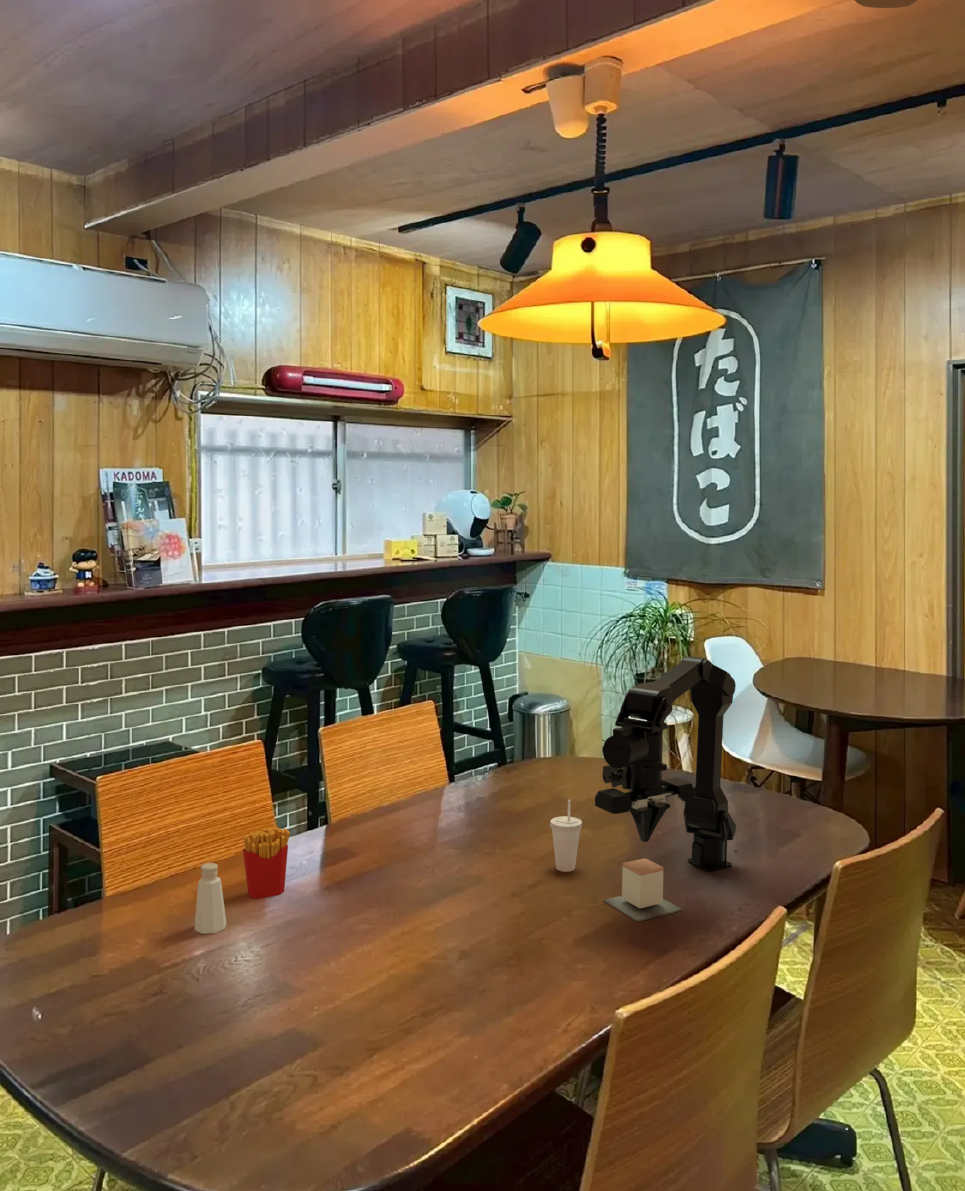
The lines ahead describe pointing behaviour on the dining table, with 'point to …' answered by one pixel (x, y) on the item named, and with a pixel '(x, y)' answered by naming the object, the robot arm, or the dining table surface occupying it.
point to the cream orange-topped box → (642, 883)
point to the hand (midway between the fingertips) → (644, 841)
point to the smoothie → (566, 840)
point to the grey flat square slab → (645, 912)
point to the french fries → (266, 862)
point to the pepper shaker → (209, 902)
